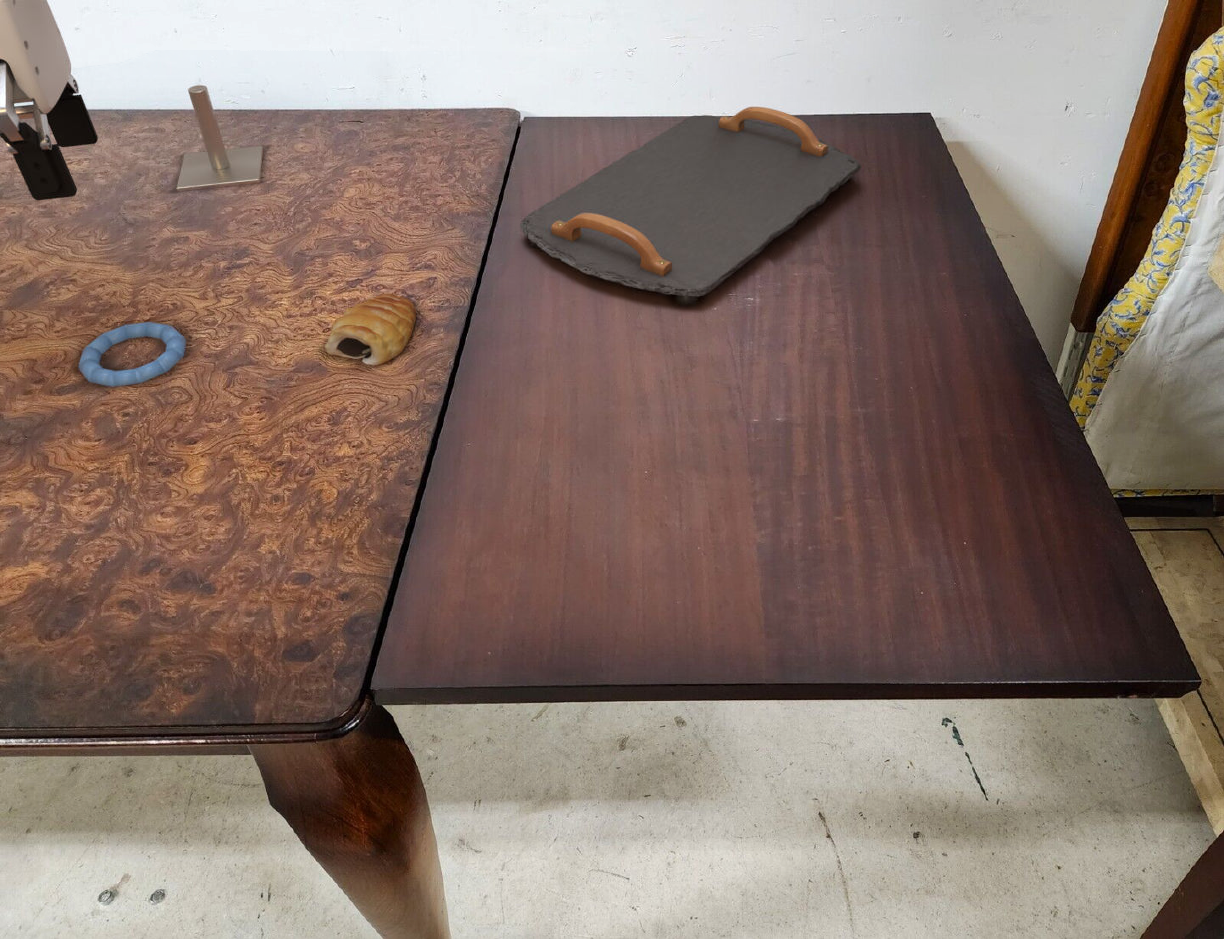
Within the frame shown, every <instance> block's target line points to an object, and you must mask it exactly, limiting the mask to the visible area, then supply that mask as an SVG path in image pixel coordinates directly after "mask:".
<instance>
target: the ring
mask: <svg viewBox="0 0 1224 939" xmlns="http://www.w3.org/2000/svg"><path fill="white" fill-rule="evenodd" d="M145 337H150V338H154V339H158V340H161V341H162V342H163V343H164V345H166V346H165V351H164V352H162V354H160V356H158V357H157V358H156V359H155V360H153V361H151V362H148V363H146V364H144V365H141V366H139V367H136V368H130V369H123V370H122V369H121V370H112V369H109V368H103V367H102V366H101V364H100V363H101V359H102V355H103V354H105V353H106V352H107V351H108V350H109V349H111V347H113V346H114V345H116V344H119V343H121V342H124V341H126V340H130V339H136V338H145ZM186 346H187V340H186V338H185V337H184V336H183V335H182V334H181V333H180V332H179V331H178V330H177V329H176V328H175V327H174V326H172V325H169V324H163V323H159V322H158V323H157V322H153V321H146V322H145V321H143V322H137V323H129V324H124V325H121V326H119V327H116V328H113V329H111V330H108V331H106V332H103V333H101V334H100V335H98V336H97V337H95V339H94V340H92V341H91V342H90V343H89V344H88V345H87V346H85V347H84V348H83V350H82V352H81V356H80V359H79V363H78V370H79V372H80V373H81V374H82V375H83V376H84V378H85V379H86V380H87V382H89V383H92V384H98V385H101V386H106V387H111V388H112V387H122V386H129V385H136V384H142V383H144V382H147V381H149V380H151V379H153V378H156V377H158V376H160V375H163V374H165V373H168V372H169V371H170V370H171V369H172V368H173V367H175V365H176V364H177V363H178V362H180V360H182V359H183V358H184V356H185V352H186Z"/></svg>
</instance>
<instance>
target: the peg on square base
mask: <svg viewBox="0 0 1224 939" xmlns="http://www.w3.org/2000/svg"><path fill="white" fill-rule="evenodd" d="M187 91H188V96H189V99H190V102H191V104H192V108H193V111H194V115H195V117H196V121H197V124H198V128H199V130H200V134H201V137H202V140H203V143H204V147H205V150H206V151H197V152H196V151H195V152H189V153H184V155H183V158H182V163H181V168H180V171H179V176H178V180H177V183H176V192H177V193H179V192H187V191H196V190H206V189H215V188H217V189H218V188H225V187H233V186H234V187H235V186H244V185H245V186H246V185H254V184H260V183H261V177H262V166H263V157H264V147H263V145H257V146H247V147H236V148H229V149H228V148H227V149H226V147H225V144H224V140H223V136H222V133H221V129H220V126H219V123H218V120H217V117H216V112H215V110H214V106H213V103H212V99H211V96H210V94H209V89H208V87H207V86H206V85H203V84H202V85H201V84H199V85H193V86H191V87H189V88H188V89H187Z"/></svg>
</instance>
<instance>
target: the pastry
mask: <svg viewBox="0 0 1224 939" xmlns="http://www.w3.org/2000/svg"><path fill="white" fill-rule="evenodd" d="M416 311H417V310H416V307H415V305H414V303H413V302H412V301H411V300H410V299H408V298H405V297H403V296H398V295H397V294H395V293H384V294H380V295H378V296H375V297H373V298H367V299H366V300H365V301H364V302H363V301H362V302H357V303H355V304H354V306H351V307H348V308H346V309H345V310H344V312H343V314H342V315H343V316H340V317H337V318H336V319H335V320H334V321H333V323H332V325H331V327H330V334H329V336H328V338H327V339H328V340H327V342H326V343H325V345H324V349H325V352H326V353H327V354H328V355H330V356H338V357H342V358H350V359H354V360H355V359H362V361H361V362H362V363H363V364H365V365H367V366H368V365H369V366H378V365H382V364H385V363H387V362H390V361H391V360H393V359H394V358H396V357H397V356H398V355H400V354H401V353H403V351H404V350H405V348H406V346H407V344H408V343H409V341H410V339H411V336H412V334H413V330H414V328H415V324H416V321H417V315H416Z"/></svg>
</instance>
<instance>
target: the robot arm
mask: <svg viewBox="0 0 1224 939" xmlns="http://www.w3.org/2000/svg"><path fill="white" fill-rule="evenodd" d="M79 93H80V88H79V85H78V82H77V80H76V79H75V77H74V76H73V75H72V63H71V59H70V56H69V52H68V50H67V47H66V44H65V41H64V38H63V36H62V33H61V30H60V28H59V25H58V23H57V21H56V17H55V16H54V14H53V11H52V9H51V7H50V4H49V2H48V0H0V138H1V139H2V140H3V141H4V142H5V145H6V147H7V150H8V152H9V153H10V154H11V155H12V156H13V159H14V161H15V163H16V165H17V168H18V170H19V173H20V174H21V176H22V178H23V180H24V183H25V185H26V187H27V189H28V191H29V193H30V196H31V197H32V199H33V200H35V201H47V200H55V199H61V198H69V197H70V198H72V197H74V196H76V194H77V192H78V188H77V185H76V183H75V181H74V178H73V175H72V173H71V172H70V168H69V167H68V164H67V162H66V160H65V157H64V155H63V153H62V151H61V148H71V147H80V146H89V145H95V144H97V142H98V140H99V136H98V134H97V131H96V129H95V126H94V123H93V122H92V119H91V117H90V113H89V110H88V109H87V106H86V103H85V101H84V98H83V95H82V94H79ZM24 103H32V104H25V105H24ZM15 104H23V105H15ZM29 119H33V121H34V125H35V126H34V127H35V129H34V128H33V127H32V126H31V125H30V124H29V123H27V122H26V121H24V122H22V121H21V120H29ZM50 131H51V132H50ZM51 133H52V136H53V138H54V140H55V143H52V137H51Z"/></svg>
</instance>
